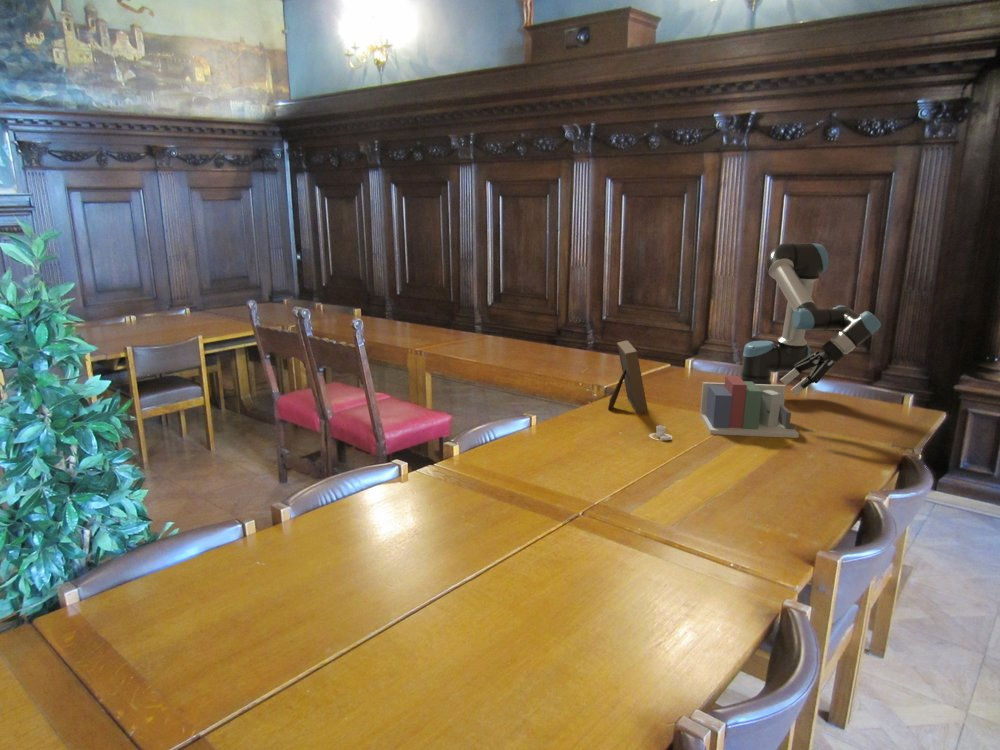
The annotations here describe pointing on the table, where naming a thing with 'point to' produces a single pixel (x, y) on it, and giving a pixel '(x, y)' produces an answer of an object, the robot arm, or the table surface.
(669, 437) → the coiled charger cable
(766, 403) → the skincare box
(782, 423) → the book shelf
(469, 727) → the table surface
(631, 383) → the photo frame
